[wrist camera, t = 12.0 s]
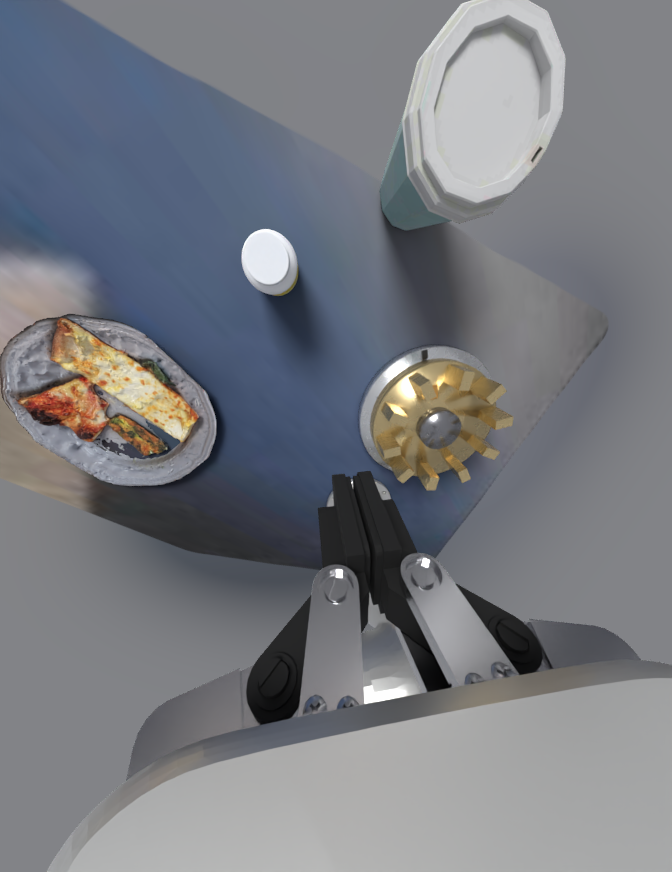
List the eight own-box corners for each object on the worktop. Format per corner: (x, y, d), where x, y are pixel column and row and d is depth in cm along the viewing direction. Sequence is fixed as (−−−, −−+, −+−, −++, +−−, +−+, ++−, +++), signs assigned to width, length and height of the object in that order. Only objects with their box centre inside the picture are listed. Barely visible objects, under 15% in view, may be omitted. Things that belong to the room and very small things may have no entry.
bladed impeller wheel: (482, 452, 46) (507, 473, 40) (379, 479, 46) (390, 504, 40) (489, 343, 36) (523, 351, 31) (360, 377, 37) (370, 391, 31)
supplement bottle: (303, 254, 31) (304, 237, 22) (292, 302, 33) (289, 303, 24) (257, 234, 29) (240, 208, 21) (249, 286, 32) (229, 281, 23)
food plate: (-25, 392, 33) (-57, 401, 30) (86, 269, 29) (62, 266, 26) (151, 498, 45) (141, 512, 42) (249, 421, 41) (245, 432, 38)
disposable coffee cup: (344, 212, 29) (380, 143, 16) (399, 92, 26) (503, -123, 12) (415, 268, 33) (491, 248, 20) (472, 170, 29) (614, 65, 16)
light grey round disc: (471, 461, 49) (478, 467, 47) (358, 473, 47) (360, 481, 45) (501, 339, 39) (511, 342, 37) (357, 350, 37) (360, 352, 35)
